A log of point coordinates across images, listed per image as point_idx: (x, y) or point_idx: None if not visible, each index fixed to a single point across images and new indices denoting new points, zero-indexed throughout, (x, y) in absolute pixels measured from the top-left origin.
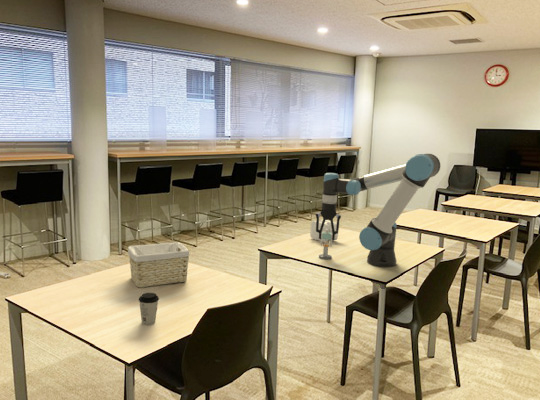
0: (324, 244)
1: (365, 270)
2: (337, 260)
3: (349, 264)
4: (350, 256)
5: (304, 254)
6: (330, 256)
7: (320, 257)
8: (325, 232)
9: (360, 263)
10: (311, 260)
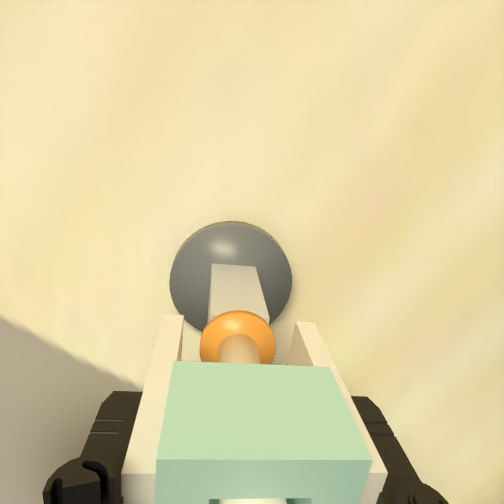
0: (217, 331)
1: (463, 473)
2: (329, 324)
3: (399, 394)
4: (481, 181)
5: (17, 208)
6: (280, 289)
7: (185, 315)
8: (223, 493)
9: (489, 355)
10: (109, 371)
